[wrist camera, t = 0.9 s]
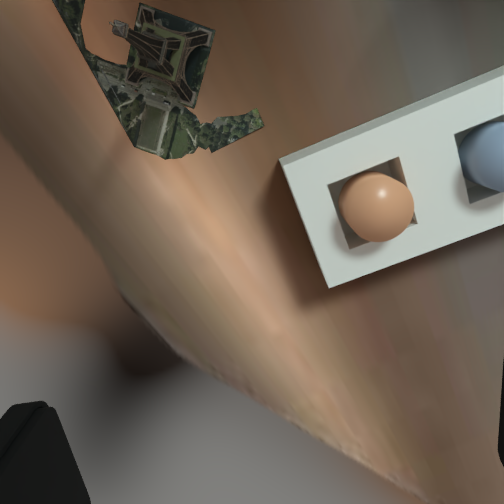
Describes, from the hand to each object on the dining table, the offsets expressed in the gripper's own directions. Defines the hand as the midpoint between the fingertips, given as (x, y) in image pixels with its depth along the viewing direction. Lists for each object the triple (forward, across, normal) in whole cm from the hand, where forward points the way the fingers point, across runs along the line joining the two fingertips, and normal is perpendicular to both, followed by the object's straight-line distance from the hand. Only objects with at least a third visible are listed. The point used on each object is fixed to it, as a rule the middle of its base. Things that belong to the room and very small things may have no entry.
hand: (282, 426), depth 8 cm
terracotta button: (+23, -8, +1) cm, 24 cm away
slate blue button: (+23, -17, -1) cm, 28 cm away
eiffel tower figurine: (+26, +5, -11) cm, 29 cm away
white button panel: (+25, -17, -1) cm, 30 cm away
